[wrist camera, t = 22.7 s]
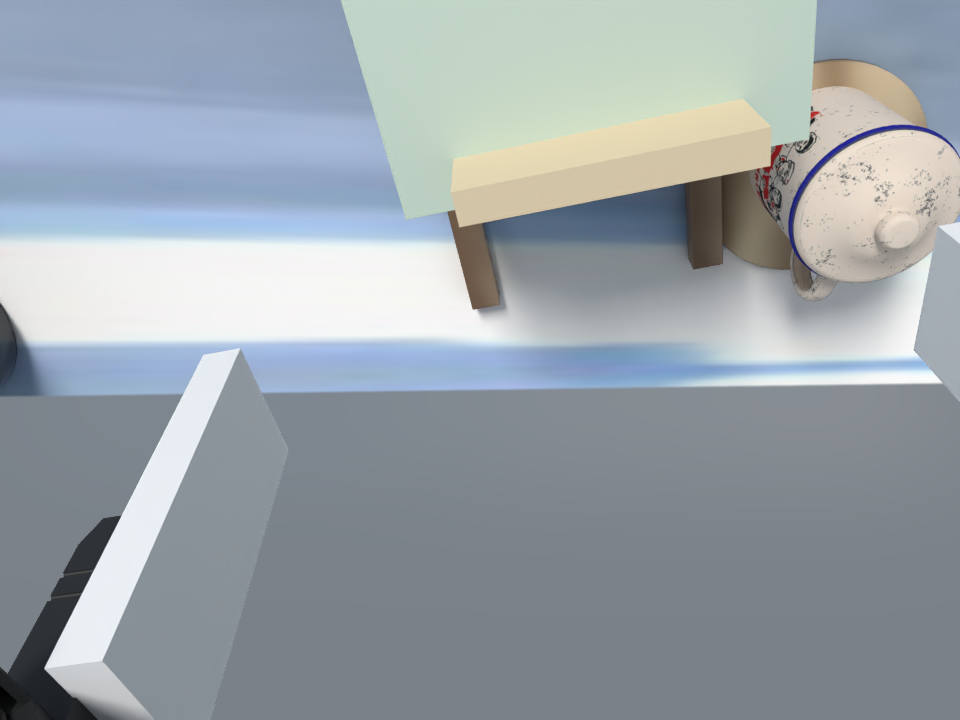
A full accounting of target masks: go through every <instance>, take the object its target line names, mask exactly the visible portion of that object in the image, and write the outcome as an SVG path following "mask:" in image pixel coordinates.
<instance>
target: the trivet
mask: <svg viewBox="0 0 960 720" xmlns="http://www.w3.org/2000/svg"><path fill="white" fill-rule="evenodd" d="M833 86H843V87H850V88H854V89H858V90H860V91H863V92H865V93H867V94H868V95H870V96H872V97H873V98H875V99H876V100H878V101H879V102H881V103H882V104H884V105H885V106H887V107H888V108H890V109H892V110H893V111H895V112H896V113H898V114H899V115H901V116H902V117H904V118H905V119H907V120H908V121H910V122H911V123H913V124H915V125H916V126H920V127H924V128H927V124H926V120H925V115H924V112H923V110H922V107H921V105H920V103H919V101H918V99H917V98H916V96H915V95H914V93H913V92H912V90H911V89H910V88H909V87H908V86H907V85H906V84H905V83H904V82H903V81H901V80H900V79H899V78H897V77H896V76H894V75H893V74H891V73H890V72H888V71H886V70H884V69H882V68H880V67H878V66H876V65H873V64H870V63H866V62H863V61H857V60H849V59H830V60H823V61H816V62H813V80H812V91H813V90H816V89H820V88H825V87H833ZM721 195H722V243H723V244H724V245H725V246H726V247H727V248H728V249H729V250H730V251H732V252H733V253H734V254H735V255H737V256H738V257H740V258H742V259H744V260H745V261H747V262H750V263H753V264H755V265H758V266H762V267H766V268H771V269H781V270H790V259H791V252H792V245H791V243H790V240H789V238H788V237H787V236H786V234H785V233H784V232H783V231H782V229H781V228H780V227H779V225H778V224H777V223H776V222H775V220H774V219H773V218H772V216H771V215H770V214H769V213H768V211H767V210H766V209H765V207H764V206H763V205H762V204H761V202H760V201H759V199H758V198H757V197H756V195H755V193H754V191H753V188H752V185H751V182H750V176H749V170H748V171H743V172H738V173H733V174H727V175H722V176H721Z"/></svg>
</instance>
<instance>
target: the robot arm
mask: <svg viewBox="0 0 960 720" xmlns="http://www.w3.org/2000/svg"><path fill="white" fill-rule="evenodd" d="M914 351H915V352H916V353H917V354H918V355H919V357H920V358H921V359H922V360H923V361H924V362H925V363H926V364H927V366H928V367H929V368H930V369H931V370H932V371H933V372H934V374H935V375H936V376H937V377H938V378H939V379H940V380H941V381H942V383H943V384H944V385H945V386H946V387H947V388H948V389H949V390H950V392H951V393H952V394H953V395H954V396H955V397H956V398H957V400H958V401H959V402H960V222H958V223H953V224H947V225H941V226H938V228H937V234H936V239H935V244H934V249H933V254H932V259H931V264H930V269H929V274H928V280H927V285H926V290H925V295H924V300H923V305H922V310H921V315H920V320H919V326H918V331H917V336H916V341H915V346H914ZM15 361H16V341H15V337H14V333H13V330H12V327H11V325H10V323H9V321H8V319H7V317H6V315H5V313H4V311H3V310H2V308H1V307H0V387H1V386H2V384H3V383H4V382H5V381H6V380H7V379H8V377H9V376H10V374H11V372H12V370H13V368H14V365H15ZM287 454H288V447H287V445H286V443H285V441H284V439H283V437H282V435H281V433H280V431H279V429H278V426H277V424H276V422H275V420H274V418H273V416H272V414H271V412H270V410H269V408H268V406H267V403H266V401H265V399H264V397H263V395H262V393H261V391H260V389H259V387H258V385H257V382H256V380H255V378H254V376H253V374H252V372H251V370H250V368H249V366H248V364H247V361H246V359H245V357H244V355H243V353H242V351H241V349H235V350H229V351H223V352H217V353H212V354H206V355H203V357H202V359H201V361H200V363H199V365H198V367H197V369H196V371H195V373H194V375H193V377H192V379H191V381H190V382H189V384H188V386H187V388H186V390H185V392H184V394H183V396H182V398H181V400H180V402H179V404H178V406H177V408H176V410H175V412H174V414H173V416H172V418H171V420H170V422H169V424H168V426H167V428H166V430H165V432H164V434H163V436H162V438H161V440H160V442H159V443H158V445H157V447H156V449H155V452H154V453H153V455H152V457H151V459H150V461H149V463H148V465H147V467H146V469H145V471H144V473H143V475H142V477H141V479H140V481H139V483H138V485H137V487H136V489H135V491H134V493H133V495H132V497H131V499H130V501H129V503H128V505H127V506H126V509H125V511H124V512H123V514H122V516H116V517H109V518H104V519H102V520H101V522H100V523H99V524H98V525H97V526H96V527H95V528H94V529H93V530H92V531H91V532H90V533H89V534H88V535H87V536H86V537H85V539H83V541H82V542H81V543H80V544H79V545H78V547H77V548H76V550H75V552H74V554H73V556H72V558H71V559H70V561H69V563H68V565H67V567H66V569H65V570H64V572H63V573H64V577H63V578H60V580H59V581H58V583H57V585H56V587H55V588H54V590H53V592H52V594H51V601H47V603H46V605H45V607H44V609H43V610H42V612H41V614H40V616H39V618H38V620H37V621H36V623H35V625H34V627H33V629H32V630H31V632H30V634H29V636H28V638H27V640H26V642H25V643H24V645H23V647H22V649H21V650H20V652H19V654H18V656H17V658H16V660H15V661H14V663H13V665H12V667H11V669H10V671H9V672H8V674H7V673H6V672H5V671H4V670H3V669H2V668H1V667H0V720H211V717H212V714H213V710H214V706H215V703H216V700H217V696H218V693H219V689H220V686H221V682H222V679H223V675H224V672H225V669H226V665H227V662H228V658H229V655H230V651H231V648H232V644H233V641H234V637H235V634H236V630H237V627H238V624H239V620H240V616H241V613H242V610H243V606H244V603H245V599H246V596H247V592H248V589H249V585H250V582H251V578H252V575H253V572H254V568H255V564H256V561H257V558H258V554H259V551H260V547H261V544H262V540H263V537H264V533H265V530H266V527H267V523H268V519H269V516H270V513H271V509H272V506H273V502H274V499H275V495H276V492H277V489H278V485H279V482H280V478H281V475H282V471H283V468H284V464H285V461H286V457H287Z"/></svg>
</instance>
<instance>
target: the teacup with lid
mask: <svg viewBox="0 0 960 720" xmlns="http://www.w3.org/2000/svg"><path fill="white" fill-rule="evenodd" d="M749 176H750V182H751V185H752V188H753V191H754V193H755V195H756V197H757V198H758V199H759V201H760V202H761V204H762V205H763V206H764V207H765V209H766V210H767V211H768V213H769V214H770V215H771V216H772V218H773V219H774V220H775V222H776V223H777V224H778V225H779V227H780V228H781V229H782V231H783V232H784V233H785V234H786V236H787V237H788V238H789V240H790V243H791V245H792V252H791V259H790V271H791V278H792V282H793V285H794V288H795V290H796V292H797V293H798V295H799V296H800V297H801V298H803V299H805V300H810V301H819V300H822V299H824V298H825V297H827V296H828V295H829V294H830V293H831V292H832V290H833V289H834V287H835V285H836V283H837V281H838V282H846V283H863V282H871V281H876V280H880V279H884V278H887V277H890V276H893V275H895V274H897V273H900V272H902V271H904V270H906V269H908V268H909V267H911V266H913V265H914V264H916V263H917V262H919V261H920V260H922V259H923V258H924V257H926V256H927V255H928V254H929V253H930V252H932V251H933V249H934V244H935V239H936V234H937V228H938V226H941V225H947V224H953V223H955V221H956V219H957V217H958V215H959V213H960V157H959V155H958V153H957V151H956V150H955V148H954V147H953V146H952V144H951V143H950V142H949V141H948V140H947V139H945V138H944V137H943V136H941V135H940V134H938V133H936V132H934V131H932V130H930V129H927V128H924V127H920V126H916V125H915V124H913V123H911V122H910V121H908V120H907V119H905V118H904V117H902V116H901V115H899V114H898V113H896V112H895V111H893V110H892V109H890V108H888V107H887V106H885V105H884V104H882V103H881V102H879V101H878V100H876V99H875V98H873V97H872V96H870V95H868V94H867V93H865V92H863V91H860V90H858V89H854V88H850V87H843V86H833V87H825V88H820V89H816V90H813V91H812V98H811V116H810V134H809V139H806V140H801V141H796V142H791V143H786V144H781V145H776V146H771V166H768V167H763V168H758V169H753V170H749ZM810 270H811V271H813V272H814V273H816V274H818V275H817V277H816V279H815V281H814V283H813V280H812V277H811V271H810Z"/></svg>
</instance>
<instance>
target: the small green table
mask: <svg viewBox="0 0 960 720" xmlns="http://www.w3.org/2000/svg"><path fill="white" fill-rule="evenodd" d="M341 2H342V6H343V9H344V12H345V16H346V19H347V22H348V26H349V29H350V33H351V36H352V39H353V43H354V46H355V49H356V53H357V56H358V59H359V63H360V66H361V70H362V73H363V76H364V80H365V83H366V86H367V90H368V93H369V96H370V100H371V103H372V107H373V110H374V113H375V117H376V120H377V123H378V127H379V130H380V134H381V137H382V140H383V144H384V147H385V150H386V154H387V157H388V160H389V164H390V167H391V171H392V174H393V177H394V181H395V184H396V187H397V191H398V194H399V197H400V201H401V204H402V208H403V211H404V214H405V218H406V220H407V219H412V218H417V217H422V216H427V215H432V214H437V213H442V212H447V211H452V210H455V212H456V216H457V220H458V224H459V227H464V226H469V225H474V224H479V223H484V222H489V221H494V220H499V219H504V218H509V217H515V216H520V215H525V214H530V213H535V212H540V211H545V210H550V209H555V208H560V207H565V206H570V205H575V204H580V203H586V202H591V201H596V200H601V199H606V198H611V197H616V196H621V195H626V194H631V193H636V192H641V191H646V190H651V189H656V188H662V187H667V186H672V185H677V184H682V183H687V182H692V181H697V180H702V179H707V178H712V177H717V176H722V175H727V174H733V173H738V172H743V171H748V170H753V169H758V168H763V167H768V166H771V146H776V145H781V144H786V143H791V142H796V141H801V140H806V139H809V134H810V116H811V98H812V80H813V62H814V44H815V25H816V7H817V0H341Z"/></svg>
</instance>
